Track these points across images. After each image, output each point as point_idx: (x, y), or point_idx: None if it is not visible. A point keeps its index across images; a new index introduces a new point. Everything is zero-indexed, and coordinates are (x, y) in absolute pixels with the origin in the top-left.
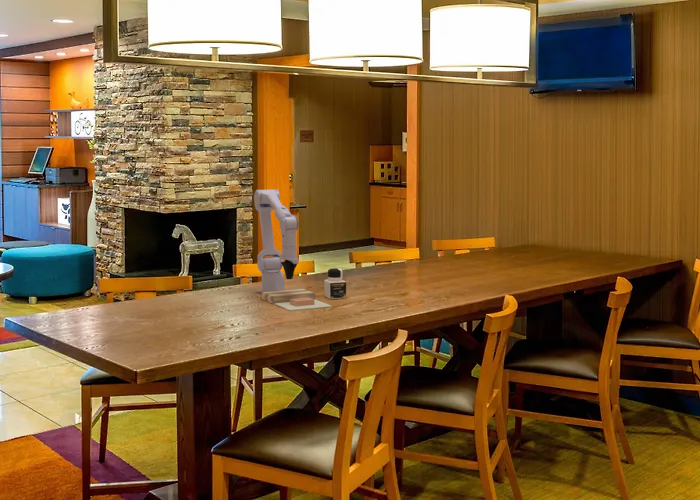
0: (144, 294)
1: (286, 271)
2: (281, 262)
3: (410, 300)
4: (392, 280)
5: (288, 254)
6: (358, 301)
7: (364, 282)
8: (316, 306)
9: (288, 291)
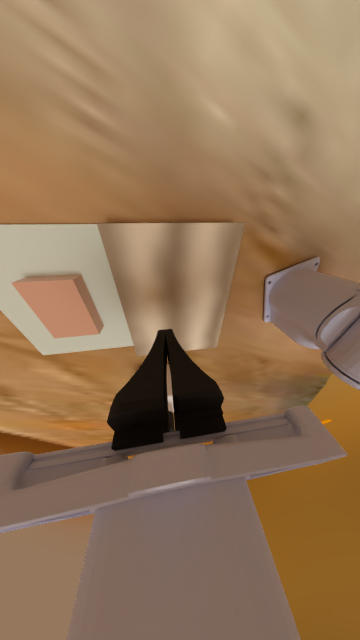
0: None
1: (153, 354)
2: (202, 393)
3: (101, 424)
4: (228, 419)
5: (76, 605)
6: (106, 390)
7: (238, 406)
8: (31, 327)
9: (188, 311)
